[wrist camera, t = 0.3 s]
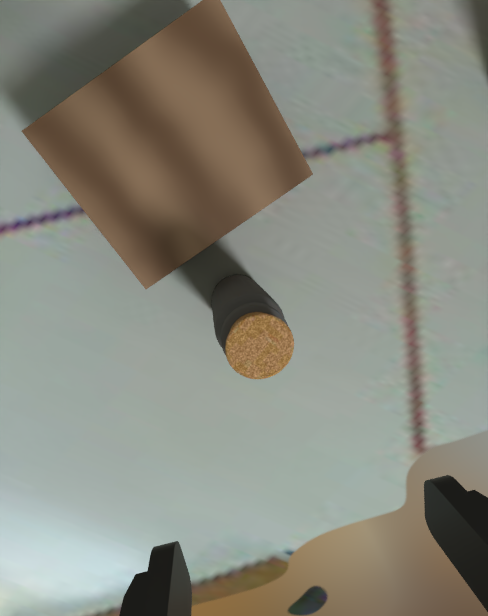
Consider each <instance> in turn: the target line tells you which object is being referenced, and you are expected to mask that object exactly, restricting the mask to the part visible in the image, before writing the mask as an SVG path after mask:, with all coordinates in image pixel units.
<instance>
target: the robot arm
mask: <svg viewBox="0 0 488 616" xmlns="http://www.w3.org/2000/svg"><path fill="white" fill-rule="evenodd" d="M424 497H425V498H424V499H425V519H426V522H427V525H428V528H429V530H430V532H431V534H432V535H433V537H434V539H435V540H436V541H437V543H438V544H439V546H440V547H441V548H442V550H443V551H444V553H445V554H446V555H447V557H448V558H449V559H450V561H451V562H452V564H453V565H454V566H455V568H456V569H457V570H458V572H459V573H460V574H461V576H462V577H463V579H464V580H465V581H466V582H467V584H468V586H469V587H470V588H471V590H472V591H473V592H474V594H475V595H476V596H477V598H478V599H479V601H480V602H481V603H482V605H483V606H484V608H485V609H486V610H487V612H488V498H487V497H486V496H484V495H482V494H480V493H479V492H477V491H475V490H472V491H468V492H467V491H466V490H465V489H464V488H463V487H462V486H461V485H460V484H459V483H458V482H457V481H456V480H455V479H454V478H453V477H451V476H449V475H446V476H442V477H438V478H435V479H430V480H427V481H425V483H424ZM191 605H192V591H191V581H190V576H189V572H188V569H187V566H186V563H185V560H184V556H183V553H182V550H181V547H180V544H179V542H178V541H176V542H172V543H168V544H164V545H160V546H156V547H153V549H152V551H151V555H150V561H149V567H148V571H147V572H143V573H139V574H136V575H135V577H134V579H133V580H132V582H131V584H130V586H129V588H128V590H127V592H126V594H125V596H124V598H123V603H122V607H121V611H120V616H191Z"/></svg>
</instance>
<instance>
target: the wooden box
mask: <svg viewBox="0 0 488 616" xmlns="http://www.w3.org/2000/svg"><path fill="white" fill-rule="evenodd" d="M22 132H23V134H24V135H25V136H26V137H27V139H28V140H29V141H30V142H31V144H32V145H33V146H34V148H35V149H36V150H37V151H38V153H39V154H40V155H41V156H42V158H43V159H44V160H45V162H46V163H47V164H48V165H49V167H50V168H51V169H52V170H53V172H54V173H55V174H56V176H57V177H58V178H59V179H60V181H61V182H62V183H63V184H64V186H65V187H66V188H67V190H68V191H69V192H70V193H71V195H72V196H73V197H74V199H75V200H76V201H77V202H78V204H79V205H80V206H81V207H82V209H83V210H84V211H85V213H86V214H87V215H88V216H89V218H90V219H91V220H92V221H93V223H94V224H95V225H96V227H97V228H98V229H99V230H100V232H101V233H102V234H103V235H104V237H105V238H106V239H107V241H108V242H109V243H110V244H111V246H112V247H113V248H114V249H115V251H116V252H117V253H118V255H119V256H120V257H121V258H122V260H123V261H124V262H125V263H126V265H127V266H128V267H129V269H130V270H131V271H132V272H133V274H134V275H135V276H136V277H137V279H138V280H139V281H140V283H141V284H142V285H143V286H144V288H145V289H147V288H149V287H150V286H152V285H153V284H155V283H156V282H157V281H159V280H160V279H162V278H163V277H165V276H166V275H168V274H169V273H171V272H172V271H173V270H175V269H176V268H178V267H179V266H181V265H182V264H184V263H185V262H186V261H188V260H189V259H191V258H192V257H194V256H195V255H197V254H198V253H200V252H201V251H202V250H204V249H205V248H207V247H208V246H210V245H211V244H213V243H214V242H216V241H217V240H218V239H220V238H221V237H223V236H224V235H226V234H227V233H229V232H230V231H231V230H233V229H234V228H236V227H237V226H239V225H240V224H242V223H243V222H245V221H246V220H247V219H249V218H250V217H252V216H253V215H255V214H256V213H258V212H259V211H261V210H262V209H263V208H265V207H266V206H268V205H269V204H271V203H272V202H274V201H275V200H276V199H278V198H279V197H281V196H282V195H284V194H285V193H287V192H288V191H290V190H291V189H292V188H294V187H295V186H297V185H298V184H300V183H301V182H303V181H304V180H306V179H307V178H308V177H310V176H311V175H313V173H312V171H311V170H310V168H309V166H308V164H307V162H306V160H305V158H304V156H303V155H302V153H301V151H300V149H299V147H298V145H297V143H296V141H295V140H294V138H293V136H292V134H291V132H290V130H289V128H288V126H287V125H286V123H285V121H284V119H283V117H282V115H281V113H280V111H279V110H278V108H277V106H276V104H275V102H274V100H273V98H272V96H271V95H270V93H269V91H268V89H267V87H266V85H265V83H264V81H263V80H262V78H261V76H260V74H259V72H258V70H257V68H256V66H255V65H254V63H253V61H252V59H251V57H250V55H249V53H248V51H247V50H246V48H245V46H244V44H243V42H242V40H241V38H240V36H239V35H238V33H237V31H236V29H235V27H234V25H233V23H232V21H231V20H230V18H229V16H228V14H227V12H226V10H225V8H224V6H223V5H222V3H221V1H220V0H202V1H201V2H200V3H198V4H197V5H196V6H194V7H193V8H191V9H190V10H189V11H187V12H186V13H184V14H183V15H182V16H180V17H179V18H178V19H176V20H175V21H173V22H172V23H171V24H169V25H168V26H166V27H165V28H164V29H162V30H161V31H160V32H158V33H157V34H155V35H154V36H153V37H151V38H150V39H148V40H147V41H146V42H144V43H143V44H142V45H140V46H139V47H137V48H136V49H135V50H133V51H132V52H130V53H129V54H128V55H126V56H125V57H124V58H122V59H121V60H119V61H118V62H117V63H115V64H114V65H112V66H111V67H110V68H108V69H107V70H106V71H104V72H103V73H101V74H100V75H99V76H97V77H96V78H94V79H93V80H92V81H90V82H89V83H87V84H86V85H85V86H83V87H82V88H81V89H79V90H78V91H76V92H75V93H74V94H72V95H71V96H69V97H68V98H67V99H65V100H64V101H63V102H61V103H60V104H58V105H57V106H56V107H54V108H53V109H51V110H50V111H49V112H47V113H46V114H45V115H43V116H42V117H40V118H39V119H38V120H36V121H35V122H33V123H32V124H31V125H29V126H28V127H27V128H25V129H24V130H22Z"/></svg>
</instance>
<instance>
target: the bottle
mask: <svg viewBox="0 0 488 616" xmlns="http://www.w3.org/2000/svg"><path fill="white" fill-rule="evenodd" d="M212 310H213V320H214V328H215V334H216V337H217V340H218V342H219V344H220V346H221V347H222V348H223V351H224V353H225V355H226V357H227V359H228V362H229V364H230V365H231V367H232V368H233V369H234V370H235V371H236V372H237V373H239V374H240V375H242V376H245V377H247V378H251V379H264V378H268V377H271V376H273V375H275V374H277V373H279V372H280V371H281V370H282V369H283V368H284V367H285V366H286V365H287V364H288V362H289V361H290V359H291V357H292V353H293V349H294V340H293V335H292V332H291V330H290V329H289V327H288V325H287V322H286V321H285V319H284V316H283V313H282V310H281V309H280V307H279V306H278V304H277V303H276V302H275V301H274V300H273V299H272V298H271V297H270V296H269V295H268V294H267V293H266V292H265V291H264V290H263V289H262V288H261V287H260V286H259V285H258V284H257V283H256V282H255V281H254V280H252V279H251V278H249V277H247V276H243V275H232V276H228V277H226V278H224V279H223V280H221V281H220V282H219V283H218V285H217V286H216V287H215V289H214V291H213V295H212Z"/></svg>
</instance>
